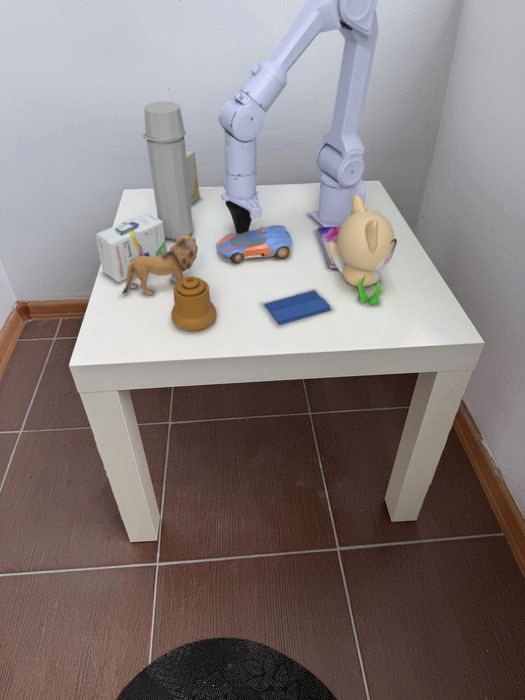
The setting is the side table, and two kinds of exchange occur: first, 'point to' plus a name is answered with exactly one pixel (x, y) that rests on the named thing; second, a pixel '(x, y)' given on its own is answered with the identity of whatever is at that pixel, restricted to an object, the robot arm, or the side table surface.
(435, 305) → the side table surface
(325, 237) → the smartphone
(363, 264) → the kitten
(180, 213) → the water bottle
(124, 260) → the ink box
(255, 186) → the robot arm
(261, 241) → the toy car
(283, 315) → the cloth
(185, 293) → the ornamental finial
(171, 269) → the lion figurine
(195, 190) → the box
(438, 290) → the side table surface
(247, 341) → the side table surface
